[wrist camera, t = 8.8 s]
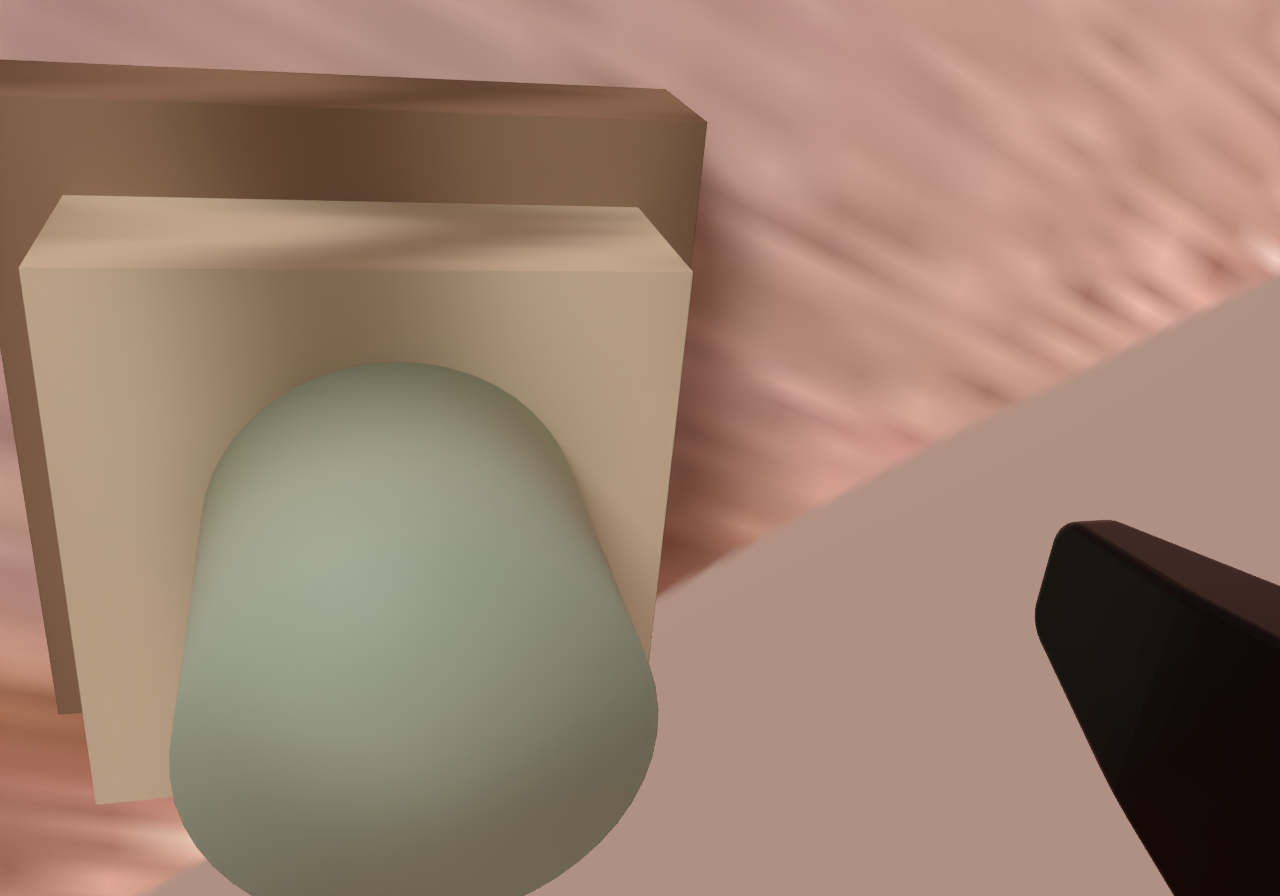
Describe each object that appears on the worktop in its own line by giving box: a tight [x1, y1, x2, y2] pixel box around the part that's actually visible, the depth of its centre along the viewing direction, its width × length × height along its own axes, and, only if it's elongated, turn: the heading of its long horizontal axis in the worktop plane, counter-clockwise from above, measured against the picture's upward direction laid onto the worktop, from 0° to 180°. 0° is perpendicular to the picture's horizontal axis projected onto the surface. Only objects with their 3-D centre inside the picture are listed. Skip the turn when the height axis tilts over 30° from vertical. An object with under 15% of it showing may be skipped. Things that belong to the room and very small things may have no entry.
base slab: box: [0, 60, 707, 714], centre depth 20 cm, size 10×10×3 cm
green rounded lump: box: [169, 362, 658, 896], centre depth 15 cm, size 5×5×4 cm
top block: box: [19, 195, 693, 805], centre depth 18 cm, size 8×8×3 cm
